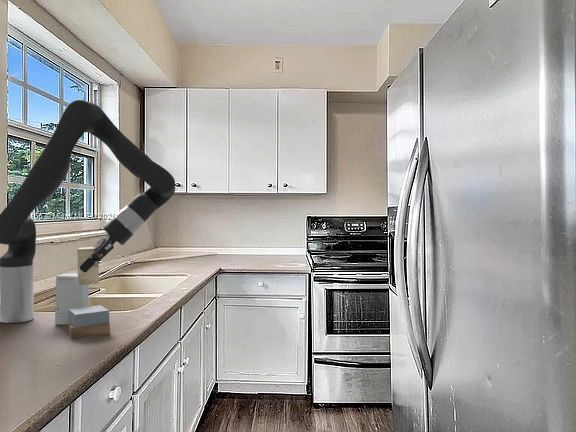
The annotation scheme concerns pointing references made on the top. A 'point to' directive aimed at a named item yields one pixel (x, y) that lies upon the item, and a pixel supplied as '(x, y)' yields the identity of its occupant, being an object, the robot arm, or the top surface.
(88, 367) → the top surface
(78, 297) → the skincare box
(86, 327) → the walnut base block
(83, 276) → the birch pillar block
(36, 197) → the robot arm
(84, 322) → the slate top block
